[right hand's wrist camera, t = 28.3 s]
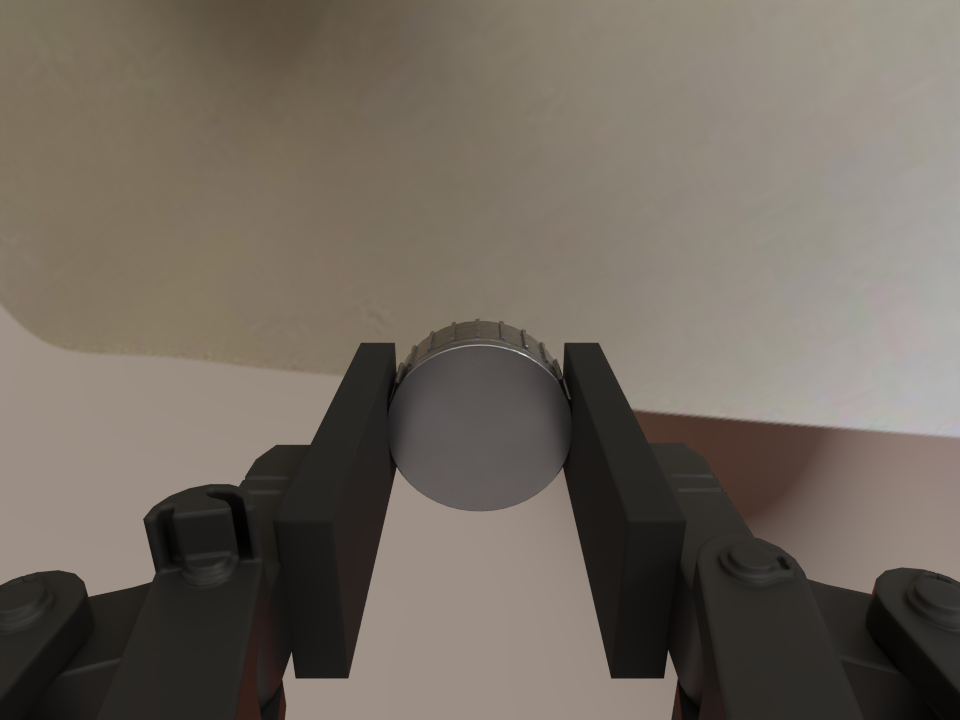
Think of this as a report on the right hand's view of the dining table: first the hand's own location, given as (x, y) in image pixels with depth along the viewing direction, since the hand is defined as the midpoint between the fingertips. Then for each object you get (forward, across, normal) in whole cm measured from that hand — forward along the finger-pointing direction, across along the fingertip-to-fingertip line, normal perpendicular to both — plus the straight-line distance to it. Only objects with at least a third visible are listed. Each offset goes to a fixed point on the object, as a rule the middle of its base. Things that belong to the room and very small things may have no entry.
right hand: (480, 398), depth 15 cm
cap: (-1, 0, 0) cm, 1 cm away
